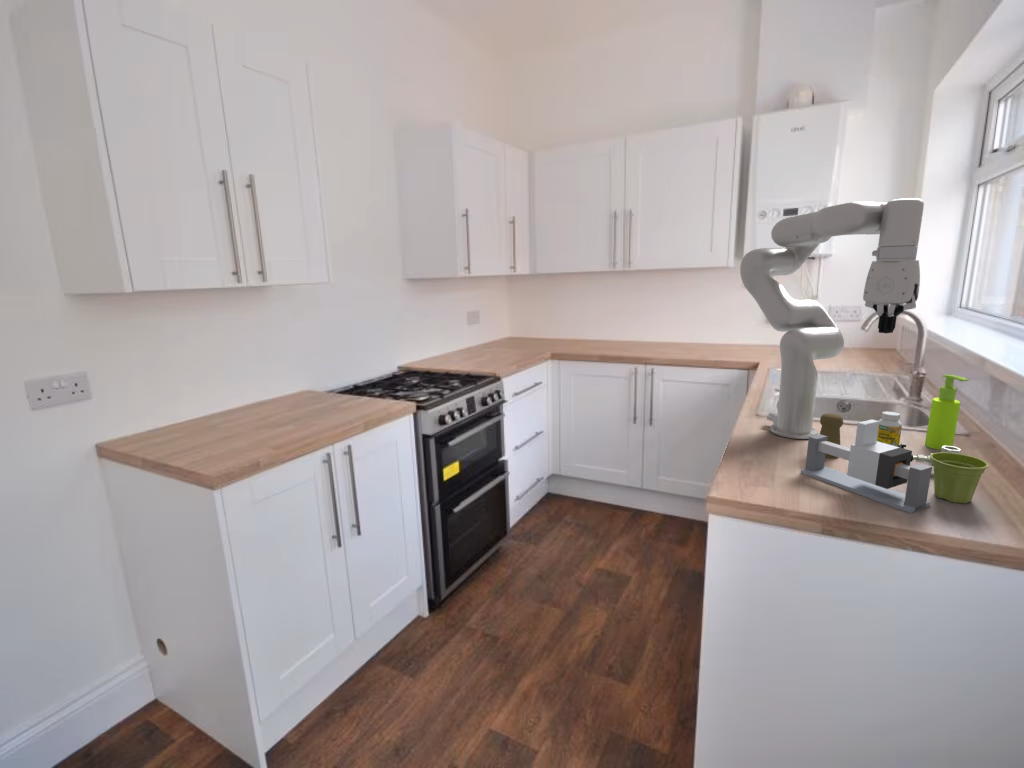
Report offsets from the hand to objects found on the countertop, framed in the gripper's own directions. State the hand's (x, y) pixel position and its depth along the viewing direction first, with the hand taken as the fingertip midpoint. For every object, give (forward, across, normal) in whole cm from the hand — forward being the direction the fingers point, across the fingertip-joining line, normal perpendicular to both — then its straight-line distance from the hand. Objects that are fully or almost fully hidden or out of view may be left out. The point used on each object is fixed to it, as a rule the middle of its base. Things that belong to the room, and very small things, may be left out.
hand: (885, 332), depth 125 cm
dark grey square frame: (+30, +15, -18) cm, 38 cm away
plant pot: (+33, +21, -6) cm, 40 cm away
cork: (+33, -8, -4) cm, 34 cm away
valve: (+33, +11, +5) cm, 35 cm away
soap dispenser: (+33, +3, +27) cm, 43 cm away
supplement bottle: (+33, -4, +15) cm, 37 cm away
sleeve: (+30, +11, -18) cm, 36 cm away
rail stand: (+33, +9, -18) cm, 39 cm away
